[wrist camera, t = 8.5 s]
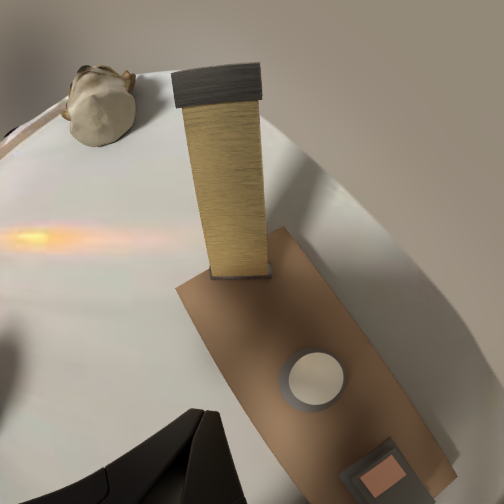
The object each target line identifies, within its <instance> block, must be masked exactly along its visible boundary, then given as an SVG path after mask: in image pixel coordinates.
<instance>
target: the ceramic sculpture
mask: <svg viewBox="0 0 504 504" xmlns="http://www.w3.org/2000/svg"><path fill="white" fill-rule="evenodd" d="M135 80H136V75H135V74H130V73H129V72H128V71H125V72H124V73H123V74H122V75H121V76H119V74H118V73H116V72H115V71H114V70H113V69H111V68H110V67H108V66H103V65H97V66H94V67H91V66H89V65H86V66H82V67H81V68H80V69H79V70H78V72H77V76H76V77H75V78H74V80H73V81H72V83H71V85H70V88H69V100H68V102H67V103H66V110H65V111H63V112H62V113H61V115H62V117H63V118H65V119H66V120H69V121H71V123H70V133H71V134H72V135H73V137H75V138H76V139H77V140H78V141H79V142H81V143H83V144H84V145H87V146H90V147H98V146H101V145H104V144H108V143H112V142H114V141H116V140H118V138H120V137H121V136H122V135H123V134H124V133H125V132H126V131H128V130H129V129H130V128H131V126H132V124H133V122H134V118H135V111H136V107H135V100H134V97H133V96H132V95H130V94H129V93H130V91H131V90H132V89H133V87H134V85H135Z"/></svg>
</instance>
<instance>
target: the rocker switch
mask: <svg viewBox="0 0 504 504" xmlns="http://www.w3.org/2000/svg"><path fill="white" fill-rule="evenodd" d="M349 479H350V480H351V481H352V483H353V484H354V485H355V487H356V488H357V489H358V491H359V492H360V493H361V495H362V496H363V497H364V498H365V500H366V501H367V502H368V504H434V503H435V502H436V501H435V500H434V499H433V497H432V496H431V495H430V493H429V492H428V491H427V489H426V488H425V487H424V485H423V484H422V483H421V481H420V480H419V479H418V477H417V476H416V475H415V473H414V472H413V471H412V469H411V468H410V467H409V465H408V464H407V463H406V461H405V460H404V459H403V457H402V456H401V455H400V453H399V452H398V451H397V449H396V448H395V447H389V448H388V449H387V450H385V451H384V452H383V453H381V454H380V455H379V456H377V457H376V458H375V459H373V460H372V461H371V462H369V463H368V464H366V465H365V466H364V467H362V468H361V469H359V470H358V471H356V472H355V473H353V474H352V475H350V476H349Z"/></svg>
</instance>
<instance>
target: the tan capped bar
mask: <svg viewBox="0 0 504 504" xmlns="http://www.w3.org/2000/svg"><path fill="white" fill-rule="evenodd" d="M171 78H172V85H173V92H174V99H175V106H176V108H182V113H183V119H184V126H185V132H186V138H187V145H188V151H189V157H190V162H191V168H192V174H193V180H194V185H195V191H196V196H197V202H198V207H199V212H200V218H201V223H202V228H203V233H204V238H205V243H206V248H207V253H208V258H209V262H210V268H209V275H210V280H258V279H272V263H271V262H268V250H267V231H266V213H265V195H264V179H263V163H262V147H261V132H260V117H259V105H258V104H259V103H258V100H262V81H261V67H260V62H250V63H237V64H226V65H217V66H209V67H201V68H194V69H188V70H182V71H178V72H174V73H171Z"/></svg>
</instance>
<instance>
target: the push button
mask: <svg viewBox="0 0 504 504" xmlns="http://www.w3.org/2000/svg"><path fill="white" fill-rule="evenodd" d="M342 384H343V371H342V368H341V366H340V364H339V363H338V362H337V360H336V359H334V358H333V357H332V356H330V355H328V354H325V353H311V354H308V355H305V356H303V357H302V358H300V359H299V360H298V361H297V362H296V363H295V365H294V366H293V368H292V369H291V372H290V375H289V386H290V389H291V392H292V393H293V395H294V396H295V397H296V398H297V399H299V400H300V401H302V402H304V403H307V404H311V405H320V404H324V403H327V402H329V401H330V400H332V399H333V398H334V397H335V396H336V395H337V394H338V393H339V391H340V390H341V387H342Z"/></svg>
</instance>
